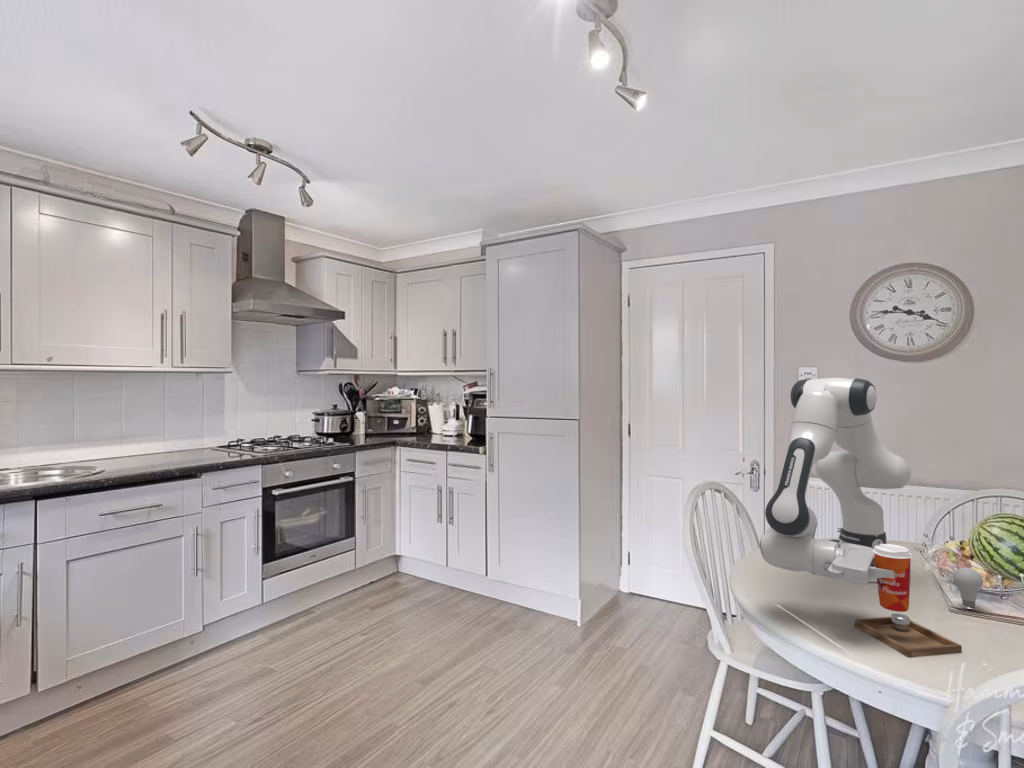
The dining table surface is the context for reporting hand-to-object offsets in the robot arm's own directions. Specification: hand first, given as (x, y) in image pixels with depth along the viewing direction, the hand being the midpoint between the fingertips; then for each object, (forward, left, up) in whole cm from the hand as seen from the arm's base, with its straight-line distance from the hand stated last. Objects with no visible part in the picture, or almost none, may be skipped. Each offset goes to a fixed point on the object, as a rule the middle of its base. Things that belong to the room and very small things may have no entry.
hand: (896, 569), depth 126 cm
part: (-4, +4, -16) cm, 17 cm away
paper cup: (0, -1, -9) cm, 9 cm away
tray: (0, +1, -17) cm, 17 cm away
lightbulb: (-13, +32, -17) cm, 38 cm away
